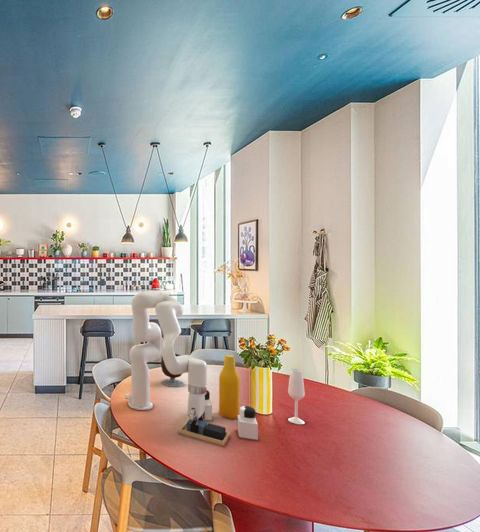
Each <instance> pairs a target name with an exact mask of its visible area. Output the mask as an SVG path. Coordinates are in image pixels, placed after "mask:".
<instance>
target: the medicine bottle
mask: <svg viewBox="0 0 480 532" xmlns="http://www.w3.org/2000/svg"><path fill="white" fill-rule="evenodd" d="M236 425H237V426H236V427H237V429H236V430H237V433H238V437H239V438H243V439H249V440H256V441H259V424H258V421H257V418H256V409H255V408H254V407H252V406H249V405H242V406H240V415H238V418H237V424H236Z"/></svg>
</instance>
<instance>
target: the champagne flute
mask: <svg viewBox="0 0 480 532" xmlns="http://www.w3.org/2000/svg"><path fill="white" fill-rule="evenodd" d="M304 382H305V381H304V373H303V370H302V369H300V368H290V371H289V378H288V388H287V394H288V395H289V397H291V399H292V400H294V416H292V417H289V418H287V420H288V422H289V423H292V424H296V425H304V424H306V422H305V421H304V420H302V419H301V418H300V417H298V416H299V411H298V410H299V401H301V400H302V399H304V397H305V396H306V392H305V383H304Z"/></svg>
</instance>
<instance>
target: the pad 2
mask: <svg viewBox="0 0 480 532" xmlns="http://www.w3.org/2000/svg"><path fill="white" fill-rule="evenodd" d="M226 429H227V428H226V427H225V426H221V425H218V424H213V423H210V422H207V426H206V427H205V436H207V437H210V438H214V439H217V440H221V441H223V440H224V438H225V436H226V432H227V430H226Z"/></svg>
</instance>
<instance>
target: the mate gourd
mask: <svg viewBox="0 0 480 532" xmlns="http://www.w3.org/2000/svg"><path fill="white" fill-rule="evenodd" d="M182 355H183V354H179V353H175V356H176V357H177V356H182ZM160 366H161V371H162V373H163V375H164V376H166V377H168V379H163V380H162V385H164V386H165V387H171V388H178V387H179V388H180V387H182V386H183V385H184V382H183V381H182V380H179V379H176V378H180V377H181V376H182V375H183V374H184V373H182V374H178V375H173V374H171V373H170V372H169V371H168V370H167V368H166V366H165V363H164V360H163V357H162V356H161V360H160Z"/></svg>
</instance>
